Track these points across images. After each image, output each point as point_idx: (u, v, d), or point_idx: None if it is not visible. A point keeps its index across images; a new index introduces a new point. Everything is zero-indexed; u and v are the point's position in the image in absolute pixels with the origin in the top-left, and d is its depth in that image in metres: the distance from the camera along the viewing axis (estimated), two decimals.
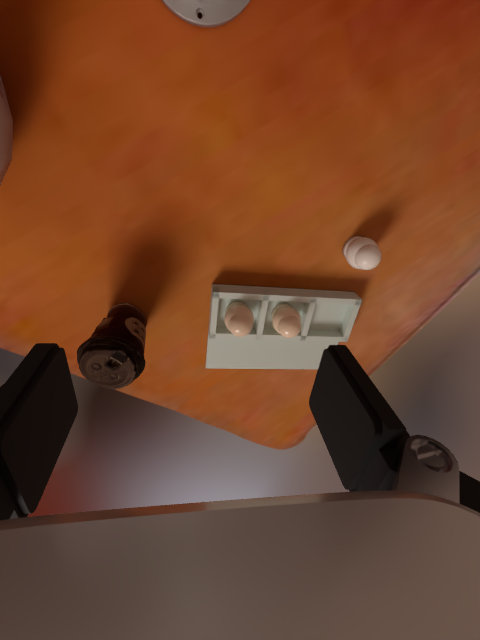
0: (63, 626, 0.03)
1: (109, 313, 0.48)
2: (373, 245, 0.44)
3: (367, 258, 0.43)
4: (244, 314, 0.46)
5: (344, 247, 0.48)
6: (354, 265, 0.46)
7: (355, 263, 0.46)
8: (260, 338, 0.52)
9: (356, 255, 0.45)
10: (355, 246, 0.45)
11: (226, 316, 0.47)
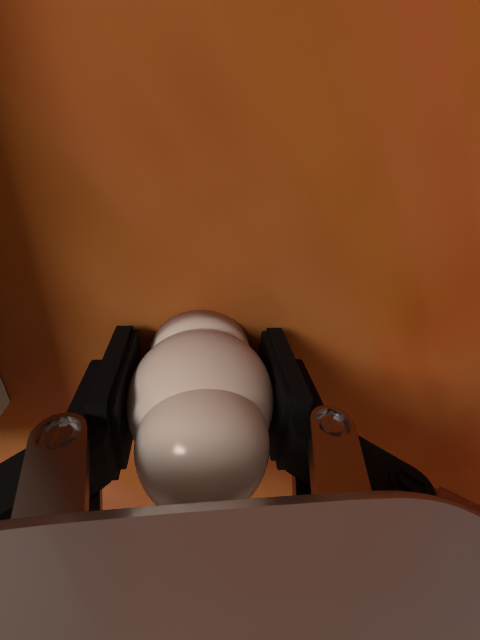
0: (63, 626, 0.03)
1: None
2: None
3: (219, 475, 0.07)
4: None
5: (205, 316, 0.11)
6: (144, 397, 0.08)
7: (161, 404, 0.08)
8: None
9: (209, 395, 0.08)
10: (247, 371, 0.09)
11: None
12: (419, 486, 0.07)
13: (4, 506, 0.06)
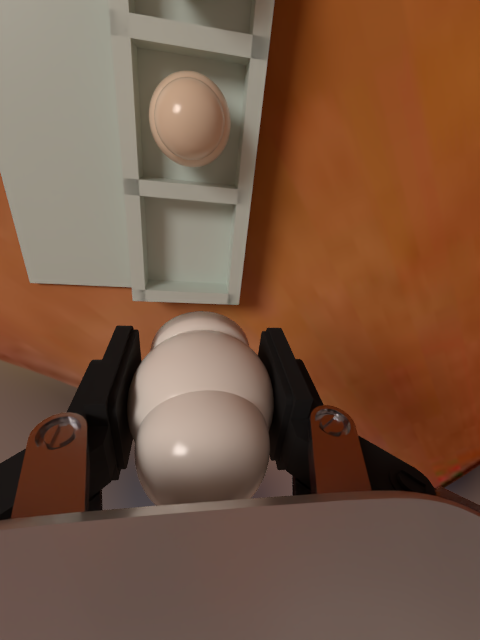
0: (63, 626, 0.03)
1: None
2: None
3: (219, 476, 0.07)
4: None
5: (205, 317, 0.11)
6: (145, 399, 0.08)
7: (161, 405, 0.08)
8: (115, 30, 0.16)
9: (210, 397, 0.08)
10: (248, 372, 0.09)
11: None
12: (420, 485, 0.07)
13: (4, 506, 0.06)
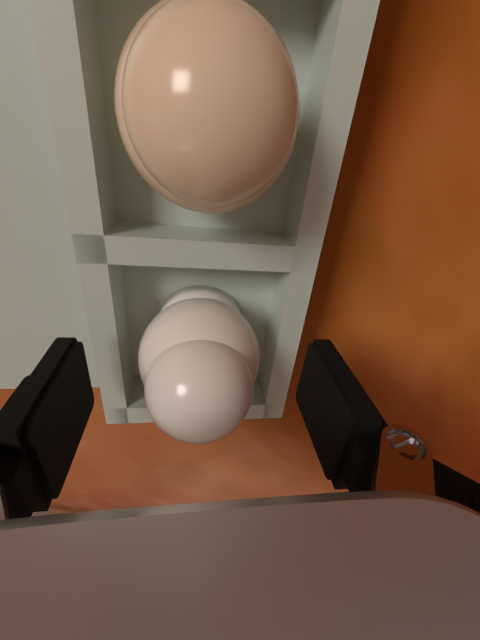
0: (63, 626, 0.03)
1: None
2: None
3: (210, 401, 0.09)
4: None
5: (204, 289, 0.13)
6: (153, 347, 0.10)
7: (166, 350, 0.10)
8: None
9: (204, 344, 0.10)
10: (237, 329, 0.11)
11: None
12: None
13: None
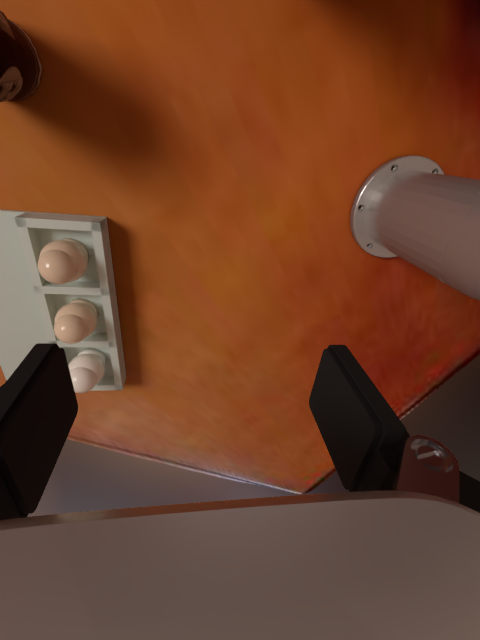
0: (63, 626, 0.03)
1: (10, 24, 0.26)
2: (96, 381, 0.41)
3: (79, 381, 0.39)
4: (77, 271, 0.34)
5: (90, 350, 0.43)
6: (69, 368, 0.41)
7: (72, 369, 0.40)
8: (36, 292, 0.37)
9: (81, 368, 0.40)
10: (92, 364, 0.41)
11: (65, 244, 0.33)
12: None
13: None
